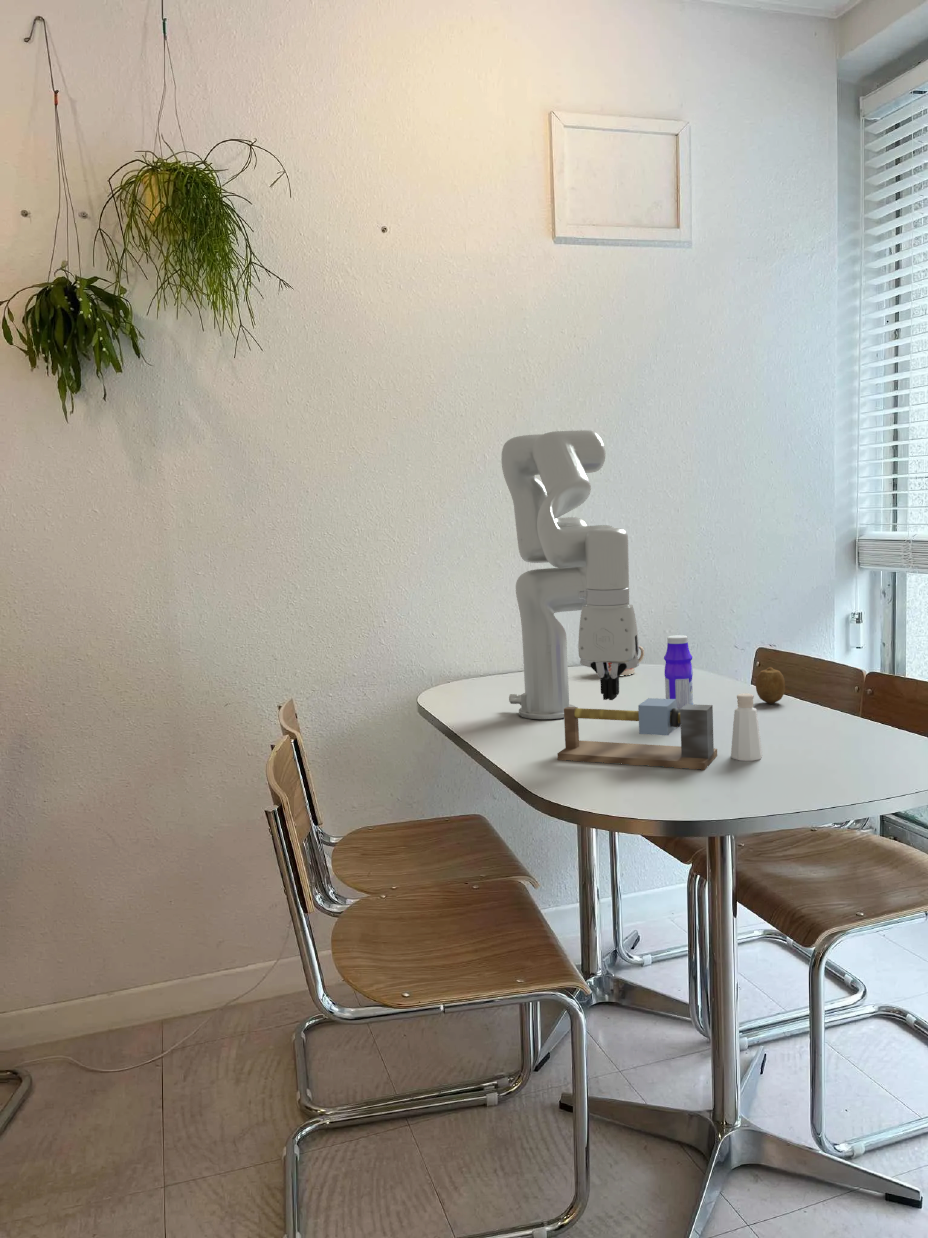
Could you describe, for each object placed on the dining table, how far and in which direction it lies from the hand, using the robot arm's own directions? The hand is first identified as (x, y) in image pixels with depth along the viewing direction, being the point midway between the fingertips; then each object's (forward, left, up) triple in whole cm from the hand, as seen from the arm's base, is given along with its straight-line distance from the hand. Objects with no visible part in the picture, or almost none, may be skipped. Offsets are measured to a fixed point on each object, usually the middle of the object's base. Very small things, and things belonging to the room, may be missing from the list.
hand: (610, 698), depth 177 cm
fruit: (+20, +48, -10) cm, 53 cm away
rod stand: (+6, -3, -10) cm, 12 cm away
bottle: (+6, +28, -10) cm, 30 cm away
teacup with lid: (-22, +80, -10) cm, 83 cm away
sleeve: (+10, -3, -5) cm, 11 cm away
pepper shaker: (+24, +2, -10) cm, 26 cm away
